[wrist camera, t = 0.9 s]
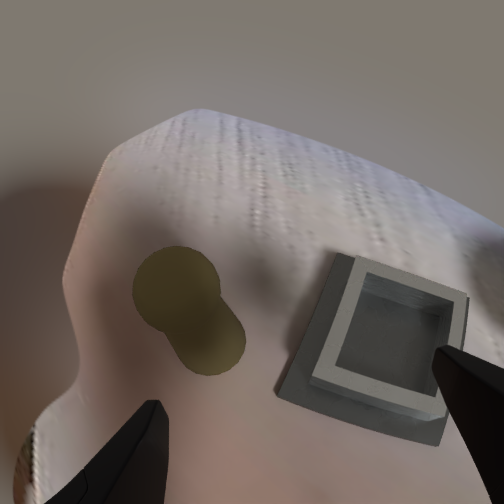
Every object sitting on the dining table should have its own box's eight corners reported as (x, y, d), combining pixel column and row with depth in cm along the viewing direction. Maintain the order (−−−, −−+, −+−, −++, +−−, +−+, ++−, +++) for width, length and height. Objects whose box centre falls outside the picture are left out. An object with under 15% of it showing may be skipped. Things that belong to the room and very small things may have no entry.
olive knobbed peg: (170, 319, 27) (115, 247, 18) (235, 300, 27) (209, 217, 18) (183, 383, 23) (120, 338, 14) (255, 364, 24) (234, 307, 15)
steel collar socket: (435, 446, 18) (456, 444, 15) (277, 397, 22) (276, 389, 19) (466, 300, 24) (484, 282, 21) (336, 256, 29) (341, 232, 26)
